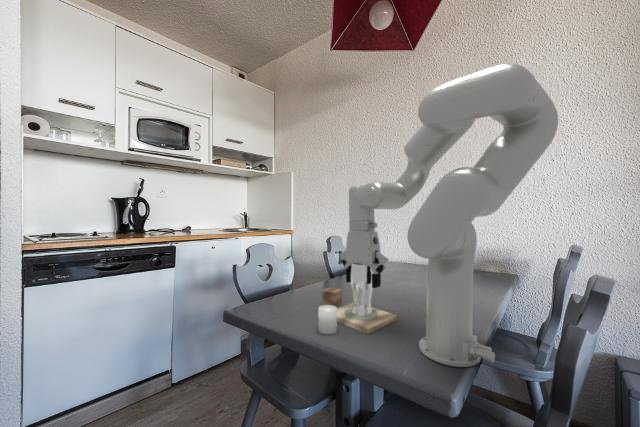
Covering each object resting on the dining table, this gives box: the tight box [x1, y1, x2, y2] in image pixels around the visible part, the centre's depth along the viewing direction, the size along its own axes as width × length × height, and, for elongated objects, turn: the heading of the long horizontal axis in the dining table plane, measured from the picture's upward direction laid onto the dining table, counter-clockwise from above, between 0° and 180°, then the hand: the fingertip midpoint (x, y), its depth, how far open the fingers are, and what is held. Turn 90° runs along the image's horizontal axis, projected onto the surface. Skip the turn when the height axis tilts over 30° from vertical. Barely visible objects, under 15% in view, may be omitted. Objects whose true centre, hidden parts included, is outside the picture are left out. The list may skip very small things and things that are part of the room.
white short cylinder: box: [317, 304, 338, 335], centre depth 73 cm, size 5×5×6 cm
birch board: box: [337, 302, 398, 335], centre depth 82 cm, size 16×14×2 cm
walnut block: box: [321, 287, 343, 308], centre depth 95 cm, size 5×5×5 cm
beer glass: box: [350, 263, 374, 317], centre depth 82 cm, size 7×7×15 cm
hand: (362, 284), depth 81 cm, fingers open, 9 cm apart
